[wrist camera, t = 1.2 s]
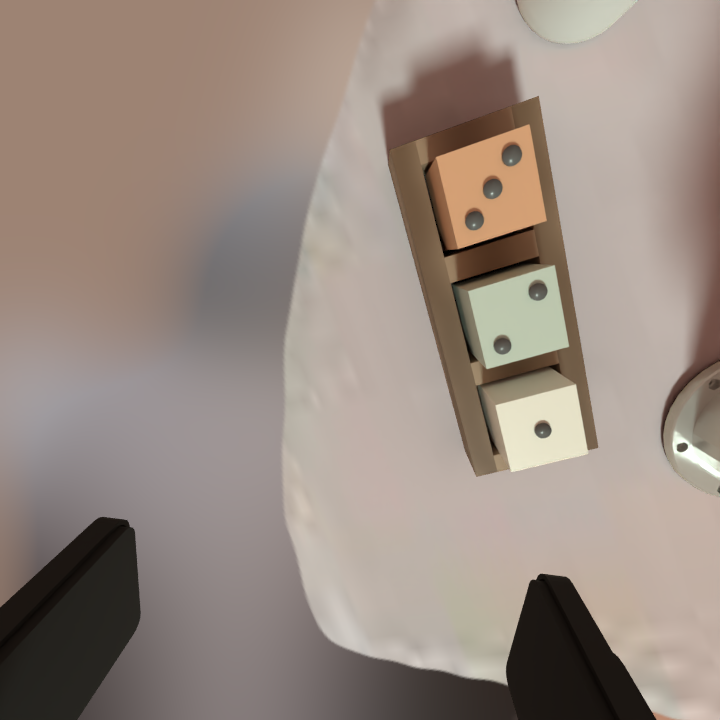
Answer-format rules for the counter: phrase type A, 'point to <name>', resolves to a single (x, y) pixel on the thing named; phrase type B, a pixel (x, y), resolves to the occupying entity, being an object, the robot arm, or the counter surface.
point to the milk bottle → (571, 17)
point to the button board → (442, 270)
